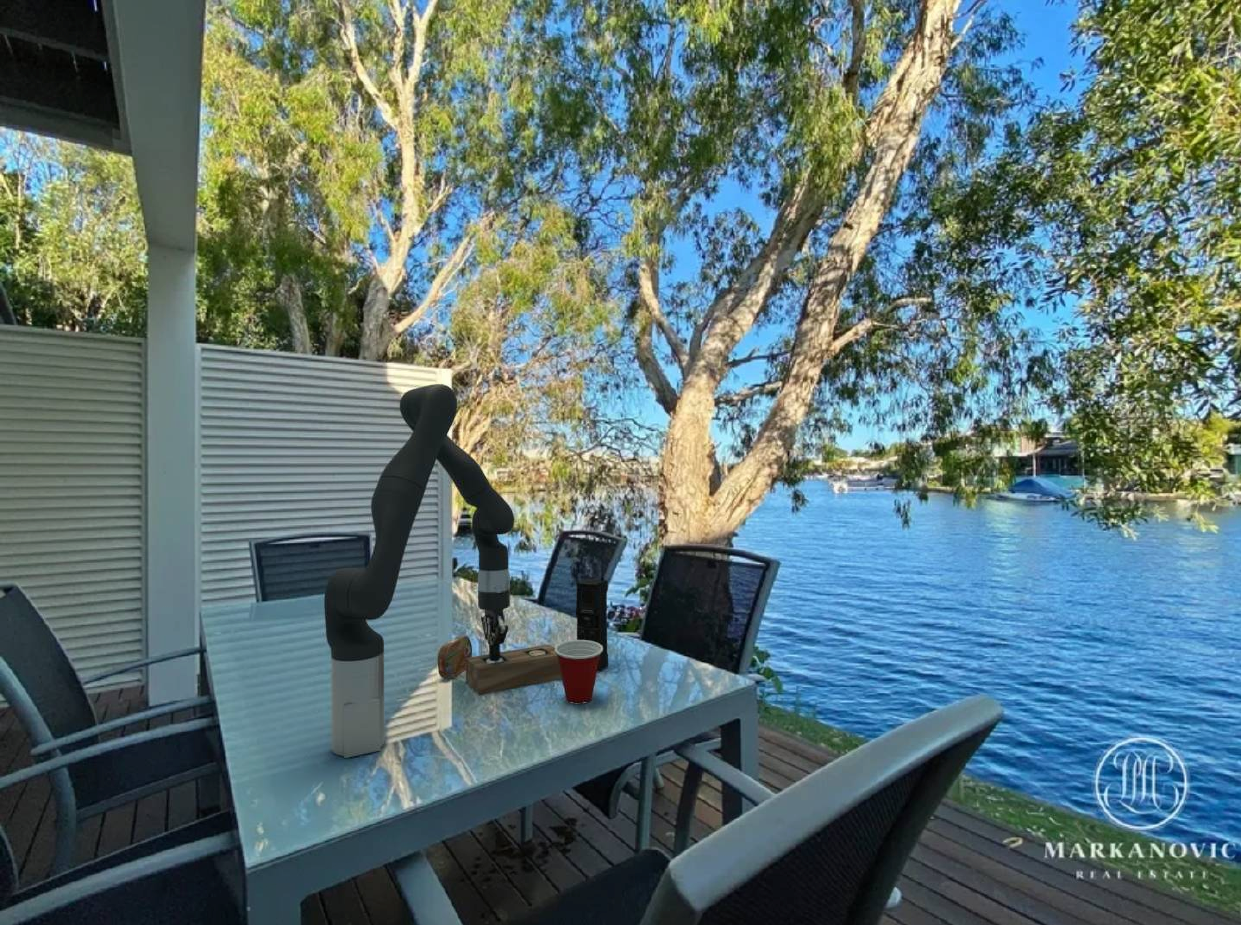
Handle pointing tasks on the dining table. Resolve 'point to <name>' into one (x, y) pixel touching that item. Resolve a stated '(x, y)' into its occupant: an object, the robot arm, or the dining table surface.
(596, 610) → the portable radio
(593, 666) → the plastic cup
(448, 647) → the tin
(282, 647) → the dining table surface
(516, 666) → the collar block
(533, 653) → the birch peg
